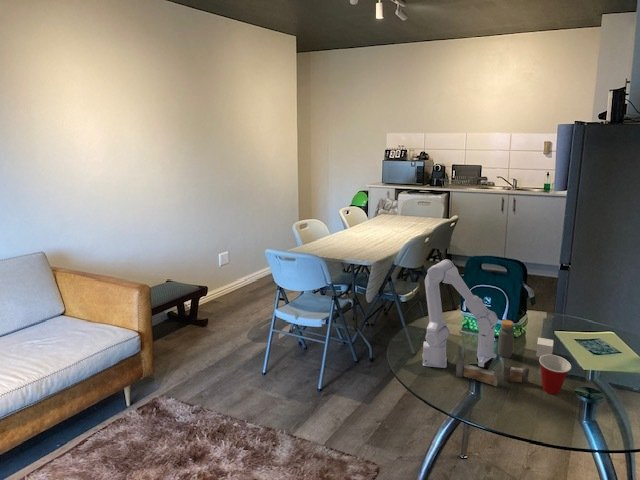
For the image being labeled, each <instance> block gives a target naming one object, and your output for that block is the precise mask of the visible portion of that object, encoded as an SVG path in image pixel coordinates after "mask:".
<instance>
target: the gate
mask: <svg viewBox="0 0 640 480" xmlns="http://www.w3.org/2000/svg"><path fill="white" fill-rule="evenodd" d="M463 377H465V378H467V377H468V379H471V378H472V379H471V380H474V379H476V380H475V381H478V382H482V383H485V384H489V385H491V386H494V387H497V386H498V382H499V380H498V379H499V371H492V370H490V369H488V370H486V369H483V368H480V366H476V365H471V364H468V363H464V371H463Z"/></svg>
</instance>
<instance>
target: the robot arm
mask: <svg viewBox="0 0 640 480" xmlns="http://www.w3.org/2000/svg"><path fill="white" fill-rule="evenodd" d="M440 283H444V284H447V285H448V284H449V285H452V287H454V289H455V290H456V291H457V292H458V293H459V294H460V296H462V298H463V299H464V300H465V304H464V305H465V306H466V308H467V309H468V311H469V312H470V313H471V314H472V316H473V317H474V318H475V319H476V326H477V328H478V337H477V351H476V356H477V357H476V362H477V363H478V365H477V367H479V368H483V369H486V370H490V369H489V368H490V365H491V364H492V362H493V360H494V359H496V358H497V354H496V353H494V348H495V347H494V345H495V330H496V329H495V328H496V325H497V323H498V322H499V317H498V316H497V314H496V312H495V311H492V310H490V309H488V307H487V306H486V305H485V303H484V302H483V301H484V300H483V299H482V298H481V297H479V296H478V295H475V294H473V293H472V291H471V290H470V288H469V287H468V285H467V284H466V282H465V281H464V279H463V278H462V276H461V275H460V274H459V269H458V267H456V265H454V262H453V261H451V260H450V259H443V260H441V261H439V262H438V263H436V264H434V265H431V266H430V267H429V268H428V269H427V274H426V276H425V279H424V287H425V296H426V302H427V303H426V305H427V312H428V320H429V321H428V324H427V327H426V334H425V340H426V341H423V346H422V347H423V348H422V354H421V355H422V356H421V359H422V366H423V367H433V368H443V369H446V368H447V365H448V364H447V339H448V338H449V337H450V335H451V332H450V329H449V327H448V323H447V322H446V320H444V317H443V307H442V299H441V291H440V290H441V289H440Z"/></svg>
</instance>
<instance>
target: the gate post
mask: <svg viewBox="0 0 640 480" xmlns="http://www.w3.org/2000/svg"><path fill="white" fill-rule="evenodd" d="M455 365H456V367H455V376H456V377H458V378H463V377H464V365H465V362H464V361H463V360H459V359H458V360H457V361H456V364H455ZM462 376H463V377H462Z"/></svg>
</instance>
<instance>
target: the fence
mask: <svg viewBox="0 0 640 480" xmlns="http://www.w3.org/2000/svg"><path fill="white" fill-rule="evenodd" d="M503 366H504V367H503V376H502V377H503V378H502V381H504V382H507V383H508V382H515V383H522V384H524V385H525V384H526V385H527V384H529V375H530V374H529V373H530V367H527V366H522V367H512V366H511V365H508V364H505V365H503Z"/></svg>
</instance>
